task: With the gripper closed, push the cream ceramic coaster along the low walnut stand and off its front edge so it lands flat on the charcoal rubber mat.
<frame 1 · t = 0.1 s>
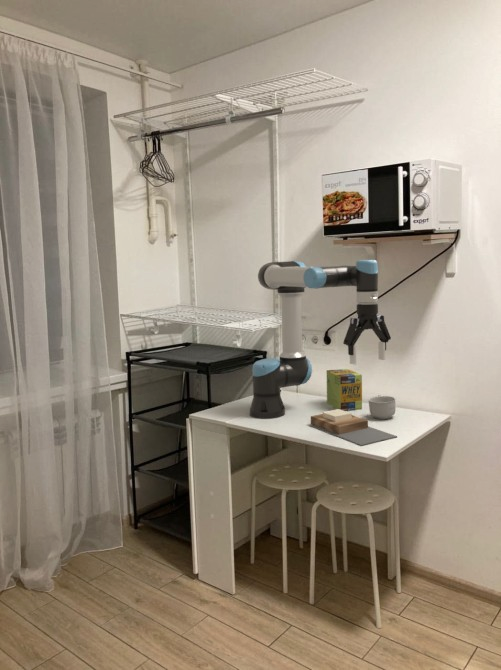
hand: (367, 361, 210), 28 cm above the table, fingers open, 13 cm apart
stand: (338, 426, 227), resting on mat
teacup: (382, 416, 239), on the table
coaster: (337, 417, 227), point 3 cm above the table, touching stand
protein box: (344, 406, 257), on the table
mat: (352, 431, 220), on the table
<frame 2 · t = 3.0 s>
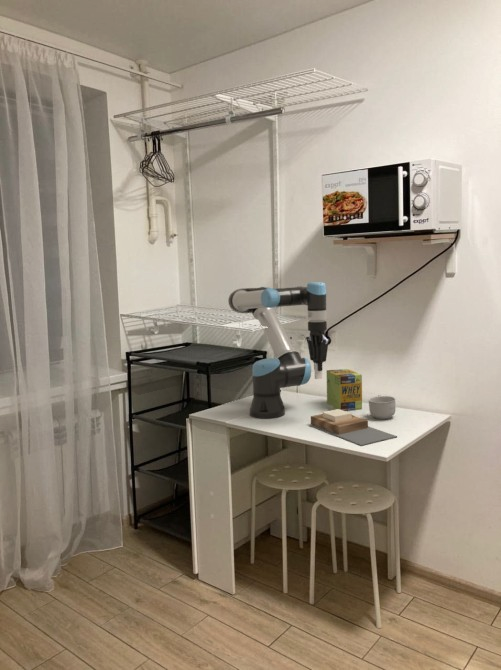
hand: (318, 378, 235), 17 cm above the table, fingers closed
nothing on the table moved.
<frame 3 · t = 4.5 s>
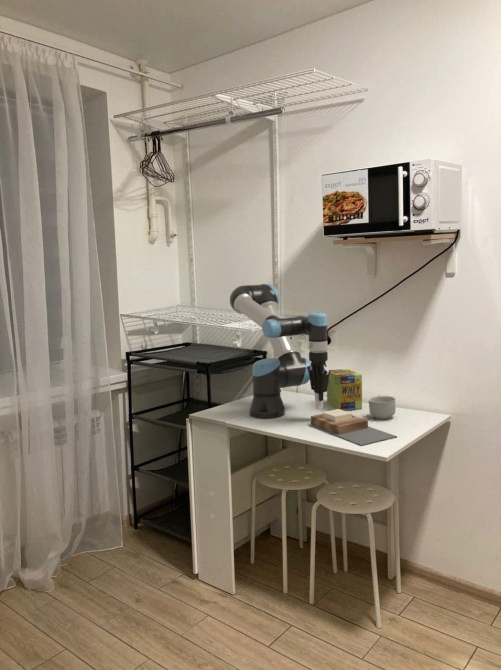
hand: (319, 408, 237), 5 cm above the table, fingers closed
nothing on the table moved.
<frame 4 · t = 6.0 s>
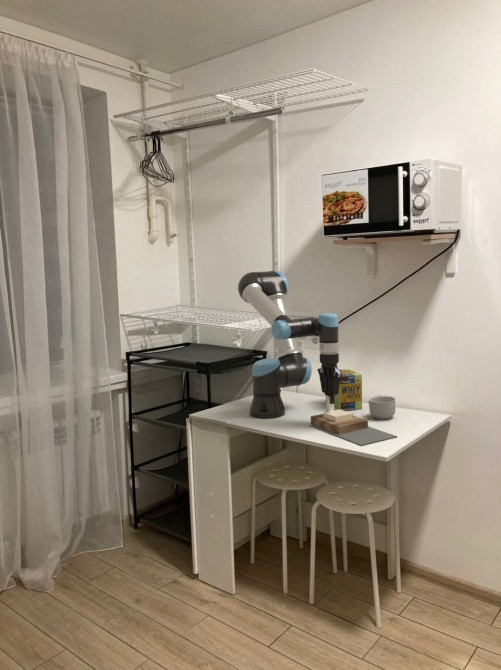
hand: (330, 411, 230), 5 cm above the table, fingers closed
coaster: (337, 417, 227), point 3 cm above the table, touching gripper, stand
everything else where it was.
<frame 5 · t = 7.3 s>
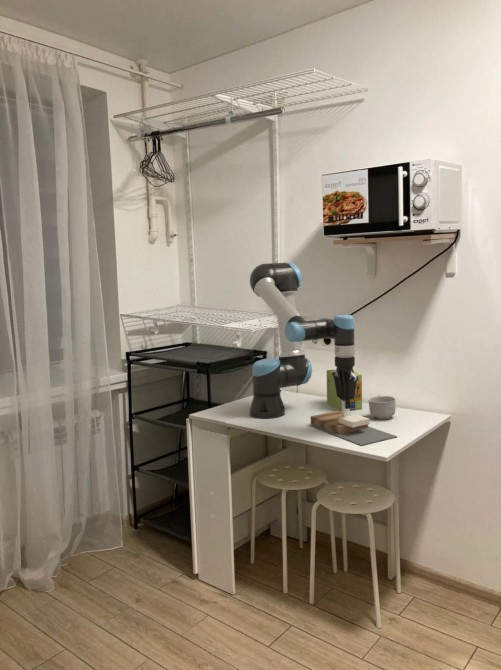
hand: (345, 416, 222), 5 cm above the table, fingers closed
coaster: (353, 423, 218), point 3 cm above the table
everything else where it was.
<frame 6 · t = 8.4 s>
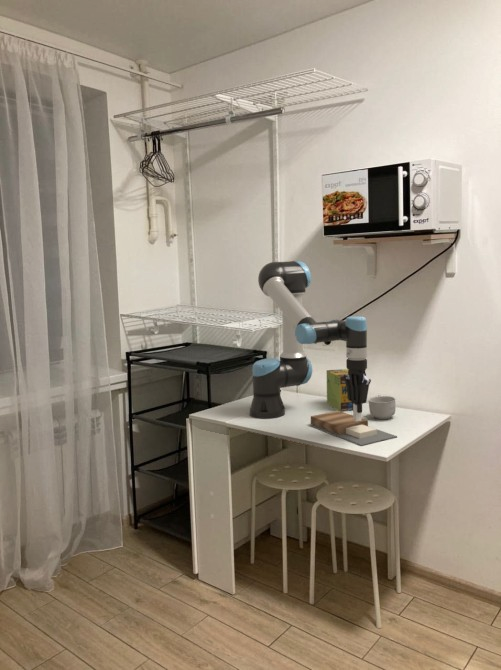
hand: (357, 420, 216), 5 cm above the table, fingers closed
coaster: (361, 433, 215), resting on mat
everything else where it was.
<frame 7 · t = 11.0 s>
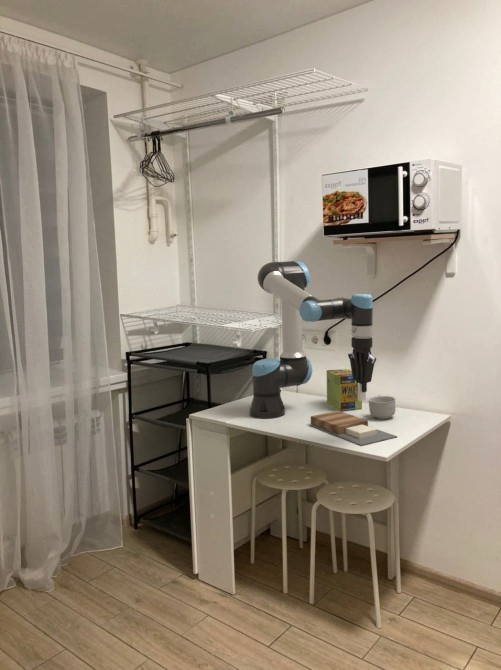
hand: (361, 399, 213), 13 cm above the table, fingers closed
nothing on the table moved.
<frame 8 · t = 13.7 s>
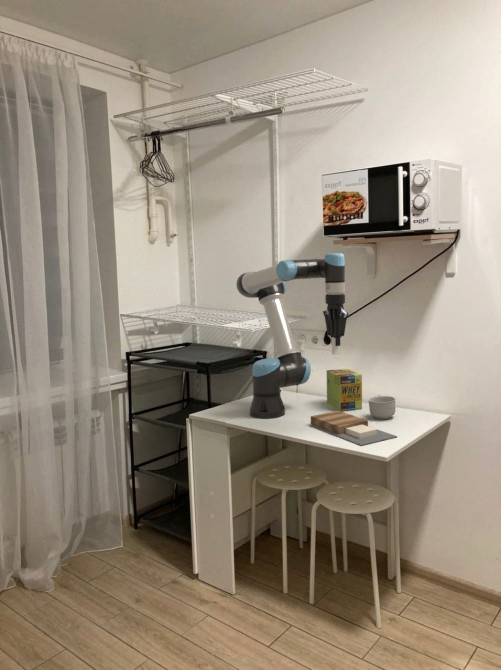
hand: (336, 353, 226), 28 cm above the table, fingers closed
nothing on the table moved.
at the end: coaster inside the target area (3.7 cm from its centre), resting on mat; coaster tilted 0°; coaster touching mat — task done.
